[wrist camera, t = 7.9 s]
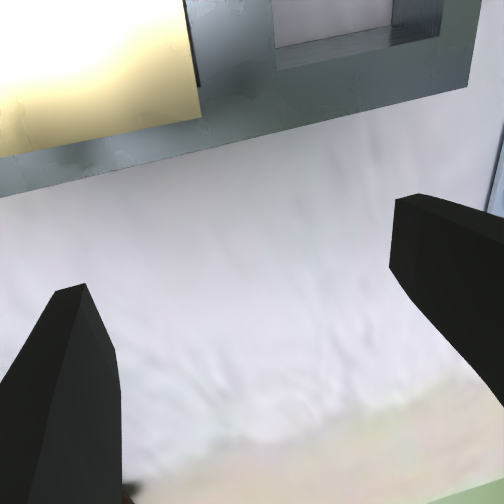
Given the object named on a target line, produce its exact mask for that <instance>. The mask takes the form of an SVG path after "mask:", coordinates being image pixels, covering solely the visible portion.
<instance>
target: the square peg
mask: <svg viewBox="0 0 504 504" xmlns="http://www.w3.org/2000/svg"><path fill="white" fill-rule="evenodd" d="M201 117H202V116H201V110H200V104H199V98H198V92H197V86H196V80H195V74H194V68H193V62H192V57H191V51H190V45H189V39H188V33H187V27H186V21H185V15H184V9H183V3H182V0H0V158H2V157H7V156H12V155H17V154H22V153H27V152H32V151H37V150H42V149H47V148H52V147H57V146H62V145H67V144H72V143H77V142H82V141H86V140H91V139H96V138H101V137H106V136H111V135H116V134H121V133H126V132H131V131H136V130H141V129H146V128H151V127H156V126H161V125H166V124H171V123H176V122H181V121H186V120H191V119H196V118H201Z"/></svg>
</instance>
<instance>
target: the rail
mask: <svg viewBox="0 0 504 504" xmlns="http://www.w3.org/2000/svg"><path fill="white" fill-rule="evenodd" d="M481 2H482V0H393V13H392V25H391V26H386V27H381V28H376V29H371V30H366V31H361V32H356V33H351V34H346V35H341V36H336V37H332V38H327V39H322V40H317V41H312V42H307V43H302V44H297V45H292V46H287V47H282V48H277V49H275V42H274V30H273V18H272V6H271V0H182V3H183V9H184V15H185V21H186V27H187V33H188V39H189V45H190V51H191V57H192V62H193V68H194V74H195V80H196V86H197V92H198V98H199V104H200V110H201V116H202V117H201V118H196V119H191V120H186V121H181V122H176V123H171V124H166V125H161V126H156V127H151V128H146V129H141V130H136V131H131V132H126V133H121V134H116V135H111V136H106V137H101V138H96V139H91V140H86V141H82V142H77V143H72V144H67V145H62V146H57V147H52V148H47V149H42V150H37V151H32V152H27V153H22V154H17V155H12V156H7V157H2V158H0V198H2V197H6V196H10V195H14V194H19V193H23V192H27V191H31V190H35V189H40V188H44V187H48V186H52V185H56V184H61V183H65V182H69V181H73V180H78V179H82V178H86V177H90V176H94V175H99V174H103V173H107V172H111V171H115V170H120V169H124V168H128V167H132V166H136V165H141V164H145V163H149V162H153V161H157V160H162V159H166V158H170V157H174V156H178V155H183V154H187V153H191V152H195V151H199V150H204V149H208V148H212V147H216V146H220V145H225V144H229V143H233V142H237V141H241V140H246V139H250V138H254V137H258V136H262V135H267V134H271V133H275V132H279V131H283V130H288V129H292V128H296V127H300V126H304V125H309V124H313V123H317V122H321V121H325V120H330V119H334V118H338V117H342V116H346V115H351V114H355V113H359V112H363V111H367V110H372V109H376V108H380V107H384V106H389V105H393V104H397V103H401V102H405V101H410V100H414V99H418V98H422V97H426V96H431V95H435V94H439V93H443V92H447V91H452V90H456V89H460V88H464V87H467V85H468V79H469V73H470V67H471V61H472V55H473V50H474V44H475V38H476V32H477V26H478V20H479V14H480V8H481Z"/></svg>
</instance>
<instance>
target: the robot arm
mask: <svg viewBox="0 0 504 504" xmlns="http://www.w3.org/2000/svg"><path fill="white" fill-rule="evenodd" d="M389 268H390V270H391V271H392V273H393V274H394V276H395V278H396V279H397V281H398V282H399V284H400V285H401V287H402V288H403V290H404V291H405V292H406V294H407V295H408V297H409V298H410V299H411V301H412V302H413V303H414V304H415V305H416V306H417V308H418V309H419V310H420V311H421V312H422V313H423V314H424V315H425V316H426V318H427V319H428V320H429V321H430V322H431V323H432V324H433V325H434V326H435V328H436V329H437V330H438V331H439V332H440V333H441V334H442V335H443V336H444V337H445V338H446V340H447V341H448V342H449V343H450V344H451V345H452V346H453V347H454V348H455V349H456V350H457V352H458V353H459V354H460V355H461V356H462V357H463V358H464V359H465V360H466V361H467V362H468V364H469V365H470V366H471V367H472V368H473V369H474V370H475V371H476V373H477V374H478V375H479V376H480V377H481V379H482V380H483V381H484V382H485V383H486V384H487V386H488V387H489V388H490V390H491V391H492V392H493V394H494V395H495V396H496V398H497V399H498V400H499V402H500V403H501V405H502V406H503V407H504V141H503V146H502V150H501V154H500V158H499V163H498V167H497V171H496V175H495V180H494V184H493V188H492V192H491V197H490V201H489V205H488V209H487V212H483V211H480V210H477V209H474V208H470V207H467V206H464V205H461V204H457V203H454V202H451V201H447V200H444V199H440V198H437V197H433V196H429V195H424V194H419V193H418V194H414V195H410V196H407V197H403V198H399V199H395V210H394V220H393V231H392V241H391V252H390V262H389ZM0 504H123V503H122V430H121V389H120V381H119V373H118V367H117V360H116V353H115V348H114V346H113V344H112V342H111V339H110V337H109V335H108V333H107V330H106V328H105V326H104V324H103V321H102V319H101V317H100V315H99V312H98V310H97V308H96V306H95V303H94V301H93V299H92V297H91V294H90V292H89V290H88V288H87V285H86V283H83V284H80V285H76V286H72V287H69V288H65V289H61V290H58V291H55V292H54V294H53V296H52V297H51V299H50V300H49V302H48V304H47V305H46V307H45V309H44V311H43V312H42V314H41V316H40V318H39V319H38V321H37V323H36V325H35V326H34V328H33V330H32V332H31V333H30V335H29V337H28V339H27V340H26V342H25V344H24V345H23V347H22V349H21V350H20V352H19V354H18V355H17V357H16V358H15V360H14V362H13V363H12V365H11V367H10V368H9V370H8V372H7V373H6V375H5V376H4V378H3V379H2V381H1V383H0Z"/></svg>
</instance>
